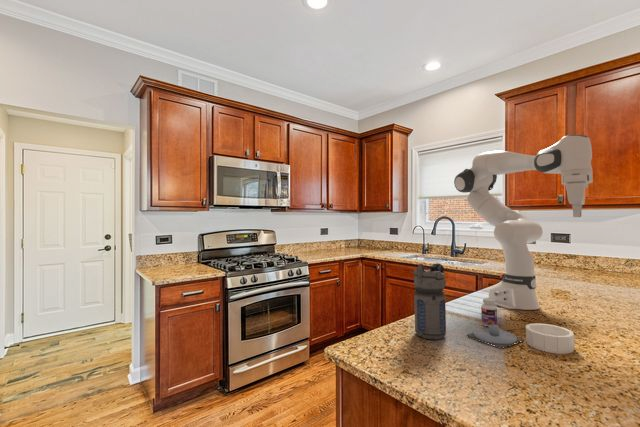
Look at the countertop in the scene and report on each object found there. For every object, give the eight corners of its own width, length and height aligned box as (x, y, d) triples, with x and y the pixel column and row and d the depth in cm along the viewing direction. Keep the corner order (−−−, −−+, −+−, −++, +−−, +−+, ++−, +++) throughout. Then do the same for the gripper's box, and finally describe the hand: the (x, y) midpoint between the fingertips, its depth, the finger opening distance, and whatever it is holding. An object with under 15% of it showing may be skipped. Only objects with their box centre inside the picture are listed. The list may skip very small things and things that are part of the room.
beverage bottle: (456, 334, 109) (454, 262, 109) (433, 344, 101) (431, 266, 101) (430, 326, 117) (429, 259, 117) (407, 335, 109) (406, 263, 110)
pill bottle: (479, 325, 118) (479, 299, 118) (483, 322, 121) (483, 296, 122) (495, 328, 114) (495, 302, 114) (499, 325, 118) (499, 299, 118)
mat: (466, 336, 107) (466, 334, 107) (488, 330, 113) (488, 328, 113) (501, 349, 96) (501, 347, 96) (523, 341, 102) (523, 339, 102)
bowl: (518, 343, 101) (517, 327, 101) (539, 336, 106) (538, 321, 106) (561, 357, 90) (560, 339, 90) (581, 348, 96) (581, 332, 96)
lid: (465, 334, 107) (465, 323, 107) (488, 328, 113) (488, 317, 113) (501, 347, 96) (501, 335, 96) (525, 339, 102) (524, 327, 102)
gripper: (567, 182, 123) (568, 217, 123) (563, 177, 108) (563, 217, 108) (589, 180, 119) (589, 216, 119) (586, 175, 104) (587, 217, 104)
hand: (577, 217), depth 113 cm, fingers open, 8 cm apart
